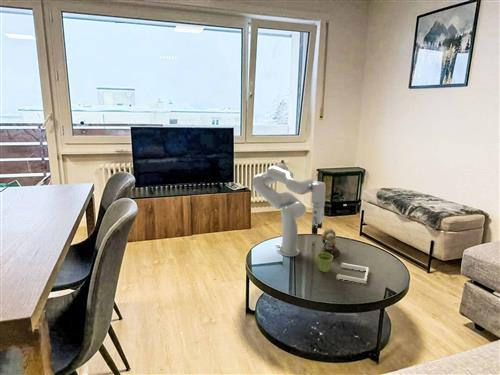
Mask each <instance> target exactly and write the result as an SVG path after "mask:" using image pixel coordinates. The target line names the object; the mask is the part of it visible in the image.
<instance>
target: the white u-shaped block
mask: <svg viewBox="0 0 500 375" xmlns="http://www.w3.org/2000/svg"><path fill="white" fill-rule="evenodd" d="M340 268H341V269H342V268H343V269H349V270H352V269H353V270H354V271H358V270H360V272H363V271H366V272H364V274H365V275H364V277H363V278H360V277H354V276H349V275H345V274H341V273H339V272H336V279H337V278H338V279H337V280H339V279H343V280H342V281H344V280H349V281H355V282H361V283H366V284H367V282H366V281H368V277H367V276H369V271H370V268H369V267H368V266H362V265H358V264H357V265H356V264H351V263H346V262H343V261H341V262H340ZM349 281H348V282H349Z"/></svg>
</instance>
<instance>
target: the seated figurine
mask: <svg viewBox="0 0 500 375" xmlns="http://www.w3.org/2000/svg"><path fill="white" fill-rule="evenodd" d="M336 237H337V236H336V231H335V230H334V229H332V228H331V227H329V228H328V227H327V228H326V229H324V230H323V231H322V234H321V242H322V244H323V246H322V247H321V248H320V252H319V253H323V252H324V253H329V254H331V255H333V259H336V258H338V257H339V256H340V250H339V248H338V247H337V246H336Z"/></svg>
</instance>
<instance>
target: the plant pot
mask: <svg viewBox="0 0 500 375" xmlns="http://www.w3.org/2000/svg"><path fill="white" fill-rule="evenodd" d="M316 258H317V267H318V270H319V271H320V272H321V271H322V273H328V272H330V270H331V264H332V261H333V259H334V258H333V255H331V254H329V253H324V252H323V253H321V252H318V253H317V254H316Z"/></svg>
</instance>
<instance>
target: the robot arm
mask: <svg viewBox="0 0 500 375" xmlns="http://www.w3.org/2000/svg"><path fill="white" fill-rule="evenodd" d="M276 182H279V183H281V184H283V185H285V186H286V188H287V189H288V190H289V191H290V192H288V191H285V192H281V193H279V192H278V191H276V189H274V188H273V187H271V186H268V185H272V184H274V183H276ZM252 186H253V189H254V190H255V191H256V193H257V194H258V195H259V196H261V197H262V198H263V199H264V200H266V201H267V202H268V203H269V204H270V205H271V206H272V207H273V208H274V209H276V210H281V212H280V216H281V222H282V224H281V225H282V230H281V231H282V233H281V234H282V235H281V237H282V238H281V239H282V240H281V241H282V242H281V244H280V243H276V244H275V247H276V249H279V253H280V255H282V256H284V257H290V258H291V257H297V256H298V255H299V254H300V249H298V231H299V230H298V227H299V226H298V223H297V219H299V218H300V217H303V216H304V215H305V214H306V212H307V209H306V206H305V204H304V203H303V202H302V201H301V200H299V199H298V198H297V197H296V196H295V195H294V194H297V195H306V194H309V193H311V204H310V205H311V207H312V209H311V210H312V211H311V234H312V235H318V229H320V230H321V229H322V228H323V221H324V218H325V203H326V191H327V190H326V189H327V188H326V187H327V185H326V183H325V182H324V181H318V180H315V179H313V178H308V179H304V180H301V181H299V180H296V179H294V174H293V171H291V170H289V169H288V167H287V165H286V164H284V163H278V164H273V165H271V166H269V167H268V168H267V171H264V172H260V173H258V174H256V175H255V176H253V177H252ZM291 192H292V193H291ZM293 193H294V194H293Z"/></svg>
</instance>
